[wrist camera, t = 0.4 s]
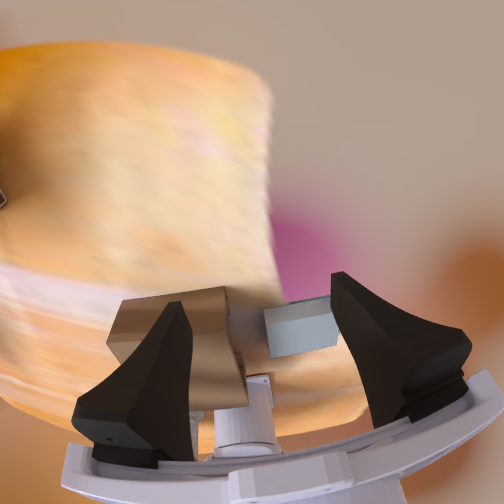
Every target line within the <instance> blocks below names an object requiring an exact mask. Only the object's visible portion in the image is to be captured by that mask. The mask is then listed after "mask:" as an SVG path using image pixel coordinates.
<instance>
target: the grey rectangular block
mask: <svg viewBox="0 0 504 504" xmlns="http://www.w3.org/2000/svg"><path fill="white" fill-rule="evenodd" d="M330 297H331V294H330V295H325V296H320V297H315V298H311V299H305V300H299V301H294V302H288V303H287V304H288V305H285V306H280V307H274V308H268V309H263V313H264V320H265V327H266V334H267V342H268V347H269V353H270V358H276V357H282V356H287V355H293V354H298V353H303V352H308V351H312V350H317V349H321V348H326V347H330V346H334V345H337V339H338V332H339V328H338V326H337V324H336V321H335V319H334V316H333V313H332V310H331V307H330Z"/></svg>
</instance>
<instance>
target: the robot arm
mask: <svg viewBox="0 0 504 504" xmlns="http://www.w3.org/2000/svg"><path fill="white" fill-rule="evenodd" d="M330 307H331V310H332V313H333V316H334V319H335V321H336V324H337V326H338V328H339V330H340V332H341V334H342V336H343V338H344V340H345V342H346V344H347V346H348V348H349V350H350V352H351V354H352V356H353V358H354V361H355V363H356V365H357V368H358V371H359V374H360V377H361V380H362V383H363V387H364V390H365V393H366V397H367V401H368V404H369V408H370V412H371V417H372V421H373V426H374V430H371V431H368V432H365V433H362V434H360V435H356V436H353V437H350V438H347V439H343V440H340V441H336V442H333V443H329V444H325V445H321V446H318V447H313V448H309V449H304V450H299V451H295V452H288V451H286V450H285V451H282V450H281V445H280V444H278V445H277V440H276V434H275V428H274V422H273V416H272V410H271V409H274V402H273V397H272V391H271V385H270V380H269V375H267V374H264V375H258V376H251V377H246V378H247V388H248V397H249V406H248V407H240V408H231V409H221V410H214V425H215V448H214V449H213V450H214V456H213V455H208V456H207V457H206V458H205V459H204V461H201V462H195V460H194V453H193V447H192V438H191V429H190V415H189V382H190V373H191V363H192V354H193V330H192V328H191V325H190V323H189V320H188V318H187V316H186V313H185V311H184V308H183V306H182V303H181V301H174V302H169V303H168V304H167V305H166V307H165V308H164V310H163V311H162V313H161V314H160V316H159V317H158V319H157V320H156V322H155V323H154V325H153V326H152V328H151V329H150V331H149V332H148V334H147V335H146V336H145V338H144V339H143V340H142V342H141V343H140V344H139V346H138V347H137V348H136V349H135V351H134V352H133V353H132V354H131V355H130V356H129V357H128V358H127V359H126V361H125V362H124V363H123V364H122V365H120V366H119V367H118V368H117V369H116V370H115V371H114V372H113V373H112V374H111V375H110V376H109V377H107V378H106V379H105V380H104V381H102V382H101V383H100V384H98V385H97V386H96V387H94V388H93V389H91V390H90V391H88V392H87V393H85V394H84V395H82V396H80V397H79V398H78V399H77V402H76V406H75V409H74V413H73V416H72V420H71V422H72V425H73V426H74V427H75V429H76V430H78V431H79V432H80V433H81V434H83V435H84V436H85V437H87V438H88V439H90V440H91V441H92V442H94V447H93V448H91V447H89V446H86V445H81V444H77V443H72V442H69V444H68V448H67V453H66V458H65V463H64V468H63V474H62V480H61V486H62V487H65V488H67V489H69V490H71V491H74V492H76V493H78V494H81V495H83V496H86V497H88V498H91V499H93V500H97V501H100V502H104V503H108V504H407V502H406V499H405V496H404V493H403V490H402V487H401V484H400V481H399V480H400V479H402V478H404V477H406V476H408V475H410V474H412V473H414V472H416V471H418V470H420V469H422V468H423V467H425V466H427V465H429V464H431V463H433V462H434V461H436V460H438V459H439V458H441V457H443V456H444V455H446V454H448V453H449V452H451V451H452V450H454V449H455V448H457V447H459V446H460V445H462V444H463V443H465V442H466V441H468V440H469V439H470V438H472V437H473V436H475V435H476V434H477V433H479V432H480V431H482V430H483V429H484V428H485V427H486V426H487V425H488V424H489V423H491V422H492V421H493V420H494V419H495V418H496V417H497V416H498V415H499V414H500V413H501V412H502V411H503V410H504V396H503V395H502V393H501V391H500V389H499V388H498V386H497V384H496V383H495V381H494V380H493V378H492V377H491V375H490V373H489V372H488V370H487V369H486V368H483V369H482V370H480V371H479V372H477V373H475V374H474V375H472V376H471V377H469V378H468V379H467V380H466V381H464V380H463V378H462V377H463V376H464V372H463V371H462V369H461V367H462V366H463V364H464V363H465V361H466V359H467V358H468V356H469V354H470V352H471V349H472V343H471V341H470V340H469V338H468V337H467V336H466V334H465V333H464V332H463V331H462V330H461V329H458V328H453V327H448V326H444V325H440V324H437V323H433V322H430V321H427V320H424V319H422V318H419V317H417V316H414V315H412V314H410V313H407V312H405V311H403V310H401V309H399V308H397V307H395V306H394V305H392V304H390V303H388V302H387V301H385V300H383V299H382V298H380V297H378V296H377V295H375V294H374V293H372V292H371V291H370V290H368V289H367V288H365V287H364V286H362V285H361V284H360V283H358V282H357V281H356V280H354V279H353V278H351V277H350V276H349V275H348V274H346V273H345V272H343V271H342V272H337V273H333V274H331V297H330Z"/></svg>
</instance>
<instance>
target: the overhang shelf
mask: <svg viewBox="0 0 504 504" xmlns="http://www.w3.org/2000/svg"><path fill="white" fill-rule="evenodd" d="M174 301H181V303H182V306H183V308H184V311H185V313H186V316H187V318H188V320H189V323H190V325H191V328H192V330H193V354H192V363H191V373H190V382H189V412H193V411H209V410H221V409H231V408H240V407H248V406H249V397H248V388H247V378H246V369H245V364H244V360H243V356H242V354H234V351H233V347H232V344H231V341H230V337H229V325H228V315H230V307H229V303H228V299H227V295H226V291H225V287H224V286H222V287H216V288H209V289H203V290H196V291H189V292H183V293H176V294H169V295H162V296H154V297H147V298H140V299H132V300H124V301H122V303H121V305H120V308H119V310H118V313H117V315H116V318H115V320H114V323H113V326H112V328H111V331H110V333H109V336H108V339H107V342H106V344H107V345H108V347H109V348H110V350H111V351H112V353H113V354H114V355H115V357H116V358H117V360H118V361H119V362H120V364H121V365H122V364H123V363H124V362H125V361H126V359H127V358H128V357H129V356H130V355H131V354H132V353H133V352H134V351H135V349H136V348H137V347H138V346H139V344H140V343H141V342H142V340H143V339H144V338H145V336H146V335H147V334H148V332H149V331H150V329H151V328H152V326H153V325H154V323H155V322H156V320H157V319H158V317H159V316H160V314H161V313H162V311H163V310H164V308H165V307H166V305H167V304H168V303H169V302H174Z"/></svg>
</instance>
